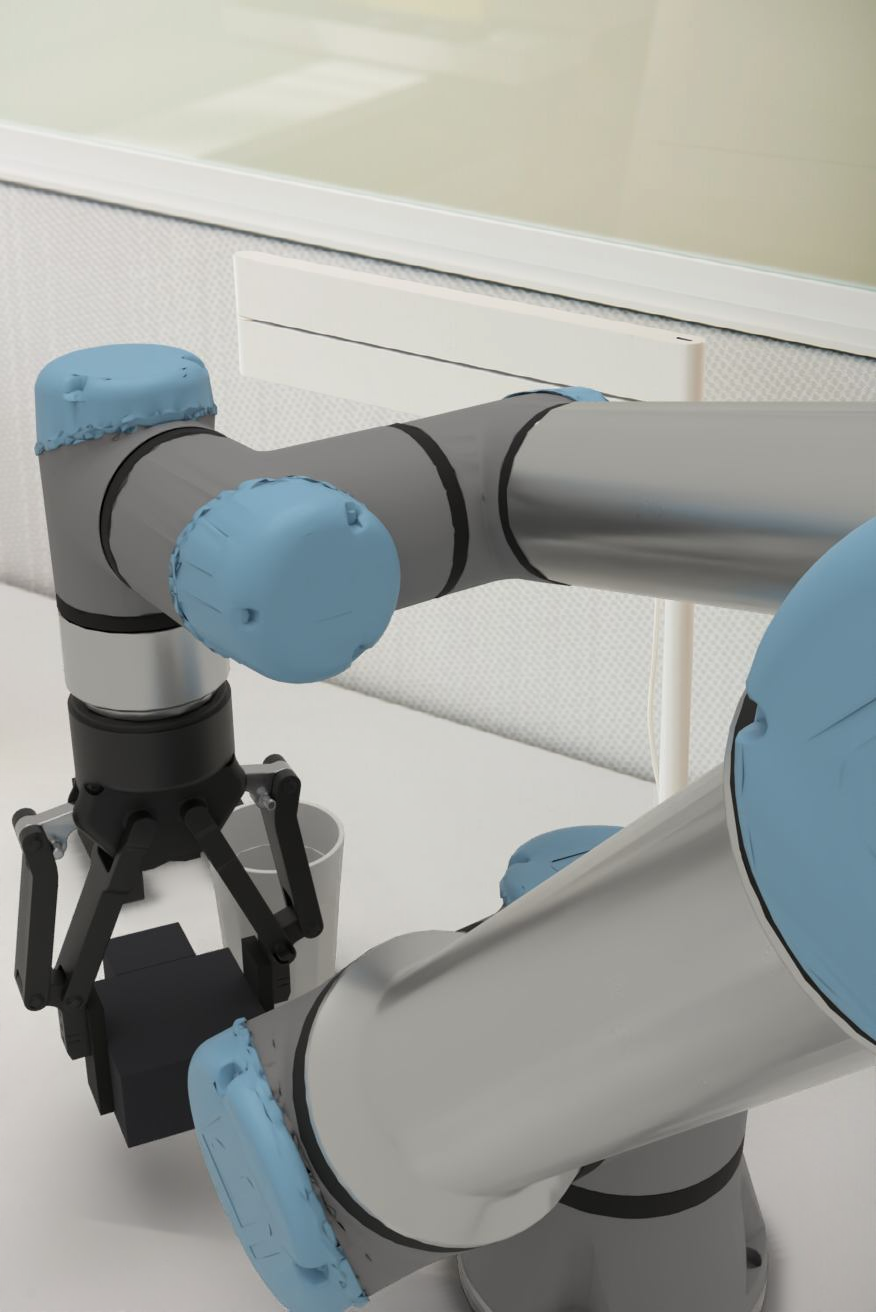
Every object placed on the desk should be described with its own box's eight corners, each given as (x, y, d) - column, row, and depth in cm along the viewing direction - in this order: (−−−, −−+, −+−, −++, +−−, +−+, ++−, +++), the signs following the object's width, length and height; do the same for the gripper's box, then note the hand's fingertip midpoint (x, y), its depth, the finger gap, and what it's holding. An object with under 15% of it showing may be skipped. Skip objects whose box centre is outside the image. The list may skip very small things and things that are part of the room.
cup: (329, 1051, 95) (324, 880, 90) (199, 1033, 96) (186, 863, 91) (362, 969, 102) (359, 806, 97) (240, 953, 103) (230, 791, 98)
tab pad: (281, 1103, 83) (277, 1033, 81) (128, 1148, 80) (120, 1077, 78) (214, 978, 93) (209, 913, 91) (75, 1015, 90) (67, 948, 88)
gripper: (330, 615, 82) (343, 982, 92) (-96, 693, 74) (-32, 1085, 84) (388, 675, 76) (395, 1061, 86) (-70, 767, 68) (-5, 1180, 78)
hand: (183, 1073), depth 85 cm, fingers closed on tab pad, 8 cm apart
